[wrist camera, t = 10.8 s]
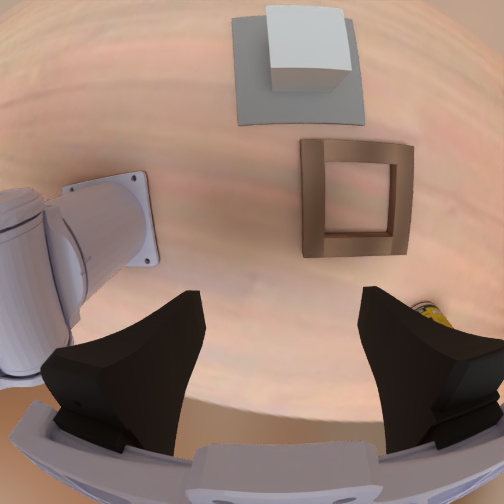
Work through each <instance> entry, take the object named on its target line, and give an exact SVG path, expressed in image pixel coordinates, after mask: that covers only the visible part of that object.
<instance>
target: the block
mask: <svg viewBox="0 0 504 504" xmlns="http://www.w3.org/2000/svg"><path fill="white" fill-rule="evenodd" d="M266 16H267V28H268V41H269V54H270V67H271V81H272V92H322V93H330V92H331V91H332V90H333V89H334V88H335V87H336V86H337V85H338V84H339V83H340V82H341V81H342V80H343V79H344V78H345V77H346V76H347V75H348V74H349V73H350V72H351V71H352V67H351V59H350V51H349V44H348V38H347V31H346V26H345V20H344V15H343V10H342V9H340V8H331V7H319V6H300V5H270V6H266Z"/></svg>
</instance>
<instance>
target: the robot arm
mask: <svg viewBox="0 0 504 504" xmlns="http://www.w3.org/2000/svg"><path fill="white" fill-rule="evenodd" d="M134 175H135V176H136V181H134V179H133V176H134ZM72 189H74V192H73V190H72ZM146 258H147V259H149V260H150V262H148V261H147V260H146ZM158 263H159V256H158V251H157V245H156V240H155V234H154V228H153V222H152V215H151V208H150V201H149V194H148V186H147V177H146V174H145V172H143V171H137V172H131V173H125V174H119V175H114V176H109V177H104V178H99V179H94V180H89V181H85V182H80V183H76V184H72V185H68V186H64V187H63V188H62V196H59V197H56V198H53V199H50V200H47V201H45V202H44V198H43V196H42V195H41V194H38V193H37V192H36V191H35V190H34V189H32V188H18V189H11V190H6V191H1V192H0V390H2V389H4V388H8V387H31V386H36V385H40V384H43V383H45V384H46V386H47V388H48V389H49V391H50V392H51V393H52V395H53V396H54V398H55V399H56V400H57V402H58V403H59V404H60V406H61V408H60V410H59V411H58V412H57V411H56V410H55V409H54V408H52V407H50V406H48V405H46V404H44V403H42V402H40V401H38V400H34V401H33V402H32V404H31V405H30V406H29V408H28V409H27V411H26V412H25V413H24V415H23V416H22V418H21V419H20V421H19V422H18V423H17V425H16V426H15V428H14V429H13V431H12V432H11V434H10V435H9V437H8V439H9V441H10V442H11V443H12V444H13V445H14V446H16V448H17V449H19V450H20V451H21V452H22V453H23V454H24V455H25V456H26V457H27V458H29V459H30V460H31V461H32V462H33V463H34V464H36V465H37V466H38V467H39V468H40V469H41V470H43V471H44V472H45V473H47V474H49V475H50V476H52V477H53V478H55V479H57V480H58V481H60V482H62V483H63V484H65V485H67V486H68V487H70V488H72V489H74V490H75V491H77V492H79V493H81V494H83V495H85V496H87V497H88V498H90V499H92V500H94V501H96V502H99V503H101V504H449V503H451V502H453V501H455V500H457V499H458V498H461V497H463V496H464V495H466V494H468V493H470V492H472V491H473V490H475V489H477V488H479V487H480V486H482V485H484V484H485V483H487V482H488V481H490V480H492V479H493V478H495V477H496V476H498V475H499V474H501V473H502V472H504V403H503V404H502V405H501V406H499V404H498V402H497V400H498V399H499V398H500V395H499V393H498V391H497V389H498V388H499V386H500V385H501V383H502V381H503V380H504V340H502V339H494V338H487V337H481V336H477V335H473V334H469V333H465V332H462V331H459V330H456V329H453V328H450V327H447V326H445V325H443V324H440V323H438V322H436V321H434V320H432V319H430V318H428V317H426V316H424V315H422V314H420V313H419V312H417V311H415V310H413V309H412V308H410V307H409V306H407V305H405V304H404V303H402V302H401V301H399V300H398V299H396V298H395V297H393V296H392V295H390V294H389V293H387V292H385V291H384V290H382V289H381V288H379V287H377V286H370V287H363V293H362V299H361V306H360V312H359V318H358V324H357V326H358V330H359V335H360V339H361V343H362V346H363V348H364V351H365V354H366V356H367V359H368V362H369V364H370V367H371V370H372V372H373V375H374V378H375V381H376V384H377V387H378V392H379V397H380V402H381V407H382V413H383V420H384V427H385V438H386V455H383V456H378V455H377V450H376V447H375V446H373V445H371V444H368V443H366V442H363V441H361V440H353V441H334V442H323V443H309V444H287V445H286V444H285V445H284V444H281V445H268V444H266V445H265V444H240V443H219V444H217V443H215V444H211V445H208V446H205V447H202V448H200V449H197V450H196V451H195V455H194V459H193V460H189V459H183V458H178V457H173V455H174V447H175V440H176V434H177V428H178V422H179V417H180V412H181V408H182V403H183V399H184V395H185V391H186V388H187V385H188V382H189V379H190V377H191V374H192V371H193V369H194V366H195V364H196V361H197V358H198V356H199V353H200V350H201V348H202V344H203V340H204V336H205V331H206V324H205V319H204V313H203V308H202V302H201V296H200V291H192V290H187V291H185V292H183V293H181V294H180V295H178V296H177V297H175V298H174V299H173V300H171V301H170V302H168V303H167V304H165V305H164V306H163V307H161V308H160V309H158V310H157V311H155V312H153V313H152V314H150V315H149V316H147V317H146V318H144V319H142V320H141V321H139V322H137V323H135V324H133V325H131V326H129V327H127V328H125V329H123V330H121V331H119V332H116V333H114V334H111V335H108V336H106V337H103V338H100V339H97V340H94V341H90V342H87V343H83V344H78V345H74V339H73V335H72V332H71V329H72V328H73V327H74V326H75V325H76V324H77V323H78V321H79V320H80V307H81V306H82V305H83V304H84V303H85V302H86V301H87V300H88V299H89V298H90V297H91V296H92V295H93V294H94V293H95V292H96V291H98V290H99V289H100V288H101V287H102V286H103V285H104V284H105V283H106V282H107V281H108V280H109V279H111V278H112V277H113V276H114V275H115V274H116V273H117V272H118V271H119V270H121V269H122V268H123V267H140V266H156V265H157V264H158Z"/></svg>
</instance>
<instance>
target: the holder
mask: <svg viewBox="0 0 504 504" xmlns="http://www.w3.org/2000/svg"><path fill="white" fill-rule="evenodd" d="M300 151H301V179H302V253H303V257H304V258H321V257H355V256H387V255H407V249H408V241H409V233H410V224H411V213H412V199H413V179H414V146H409V145H400V144H390V143H379V142H366V141H348V140H300ZM324 161H338V162H366V163H383V164H390V199H389V215H388V228H387V232H365V233H324V230H325V166H324Z"/></svg>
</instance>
